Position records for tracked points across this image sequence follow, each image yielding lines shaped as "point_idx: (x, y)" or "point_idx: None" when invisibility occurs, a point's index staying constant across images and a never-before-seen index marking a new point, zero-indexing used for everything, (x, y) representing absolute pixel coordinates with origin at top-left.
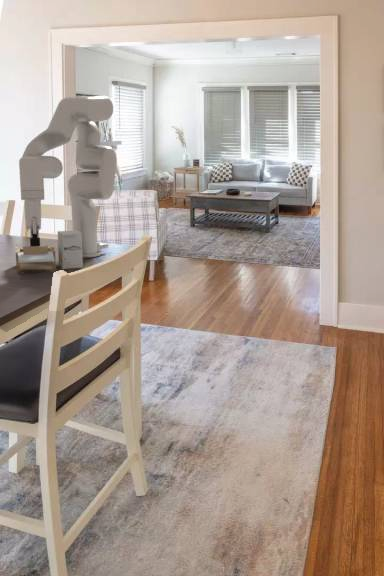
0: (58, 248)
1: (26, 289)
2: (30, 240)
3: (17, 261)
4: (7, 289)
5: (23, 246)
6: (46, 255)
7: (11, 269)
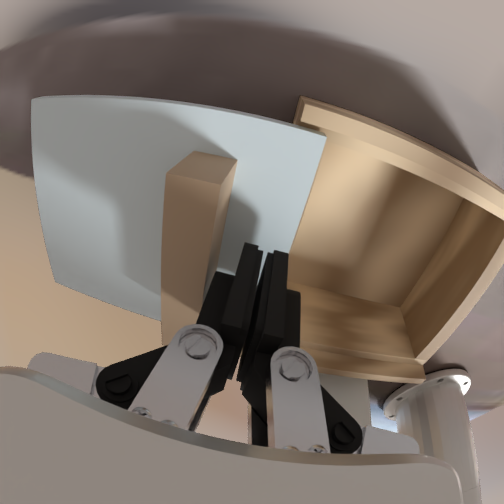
0: (357, 381)
1: (17, 111)
2: (226, 306)
3: (300, 107)
4: (29, 48)
5: (218, 189)
6: (129, 283)
7: (411, 103)
